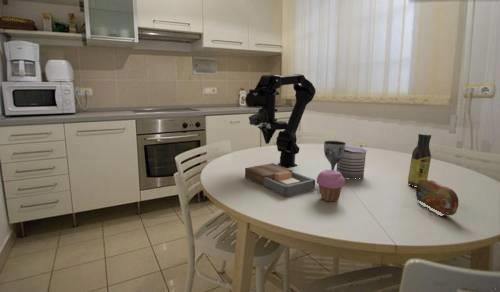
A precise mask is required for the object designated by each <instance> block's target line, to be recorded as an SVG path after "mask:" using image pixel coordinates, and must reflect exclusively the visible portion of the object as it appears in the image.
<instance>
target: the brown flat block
mask: <svg viewBox="0 0 500 292" xmlns="http://www.w3.org/2000/svg"><path fill="white" fill-rule="evenodd" d="M284 171H289V172H293V169H290V168H288V167H284V166H281V165H278V164H276V163H274V162H273V163H268V164H262V165H261V164H260V165H256V166H250V167H245V168H244V179H246V180H249V181H251V182H253V183H255V184H257V185H259V186H261V187H263V184H264V177H267V178H269V179H272V180H274V176H275V173H278V172H284Z"/></svg>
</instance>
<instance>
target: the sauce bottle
mask: <svg viewBox="0 0 500 292" xmlns="http://www.w3.org/2000/svg"><path fill="white" fill-rule="evenodd" d="M431 138H432V135H431V134H429V133H418V136H417V144H416V146H415V147H414V149H413V150H412V153H411V159H410V164H409V171H408V176H407V185H408V184H410V185H413V186H417V185H418V184H419V182H420V181H422V180H428V177H429V172H430V166H431V160H432V154H431V149H430V142H431ZM410 185H409V186H410Z"/></svg>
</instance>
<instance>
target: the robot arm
mask: <svg viewBox="0 0 500 292" xmlns="http://www.w3.org/2000/svg"><path fill="white" fill-rule="evenodd" d="M289 85H293V86H292V87H293V88H292V89H293V90H294V91H295V94H294V96H295V104H294V106H293V109H292V112H291V114H290V116H289V119H288V121H283V120H278V119H277V118H276V112H278V108H276V97H277V96H279V95H280V93H279V92H278V90H277V89H279V88H282V86H289ZM316 93H317V92H316V88H315V86H314V84H313V83H312V82H311V81H310V80H308V79H307V78H306V77H305V75H304V74H302V73H297V74H296V73H295V74H290V75H289V74H288V75H282V76H281V75H276V74H263V75H261V76H260V79H259V81H258V83H257V84H256V86H255V88H253V89H252V88H251V89H249V91H248V93H247V94H246V96H245V100H244V101H245V104H246V106H247V107H248V108H257V107H258V108H259V109H258V112H256V113H254V114H252V115H250V116H248V119H249V125H251V126H254V127H257V128H258V129H259V130H260V131H261V133H262V135H263V139H264V143H265V144H269V143H270V142H271V140H272V138H273V136H274V134H275V133H276V132H277V131H278V130H279V132H278V134H277V137H276V138H275V139H276V142H275V144H276V148H277V152H280V155H279V163H277V165H279V166H282V167H285V168H292V167H297V166H298V164H297V163H296V155H297V154H299V152H300V147H299V146H298V144H297V140H298V139H297V131H298V128H299V125H300V122H301V120H302V117H303V115H304V112H305V110H306V107H307V105H308V104H309V103H310V102H311V101H312V100H313V99H314V96H315V95H316Z"/></svg>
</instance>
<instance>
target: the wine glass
mask: <svg viewBox="0 0 500 292" xmlns="http://www.w3.org/2000/svg"><path fill="white" fill-rule="evenodd" d="M346 145H347V143H346V142H344V141H341V140H340V141H339V140H325V141H324V143H323V152H324V153H323V154H324V157H325V158H326V160H327V161H328V163H329V164H330V168H331V169H330V170H335V167H336V166H337V163H338V162H339V161H340V160H341V159H342V157H343V155H344V152H345V146H346Z"/></svg>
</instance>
